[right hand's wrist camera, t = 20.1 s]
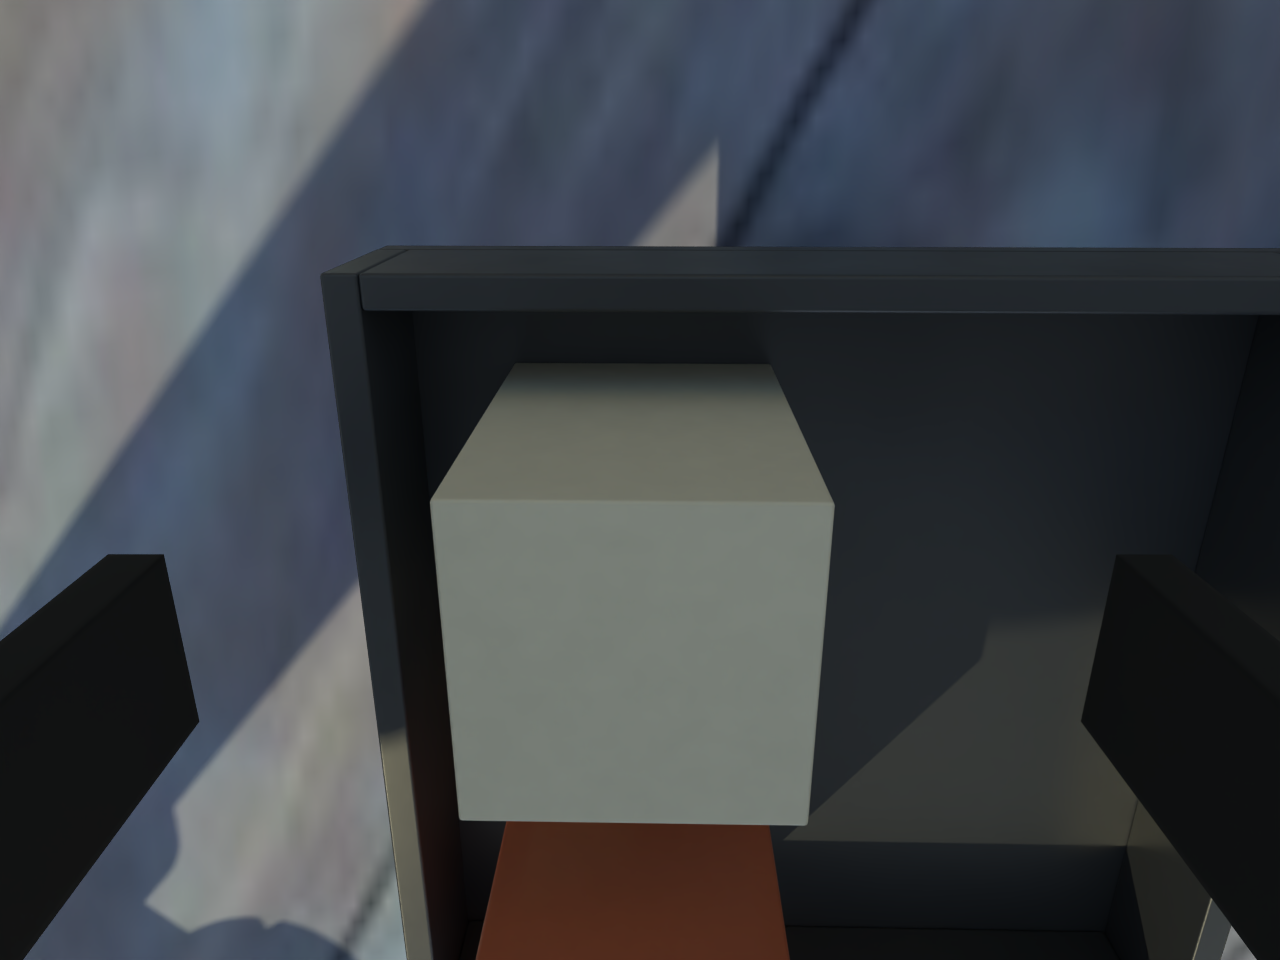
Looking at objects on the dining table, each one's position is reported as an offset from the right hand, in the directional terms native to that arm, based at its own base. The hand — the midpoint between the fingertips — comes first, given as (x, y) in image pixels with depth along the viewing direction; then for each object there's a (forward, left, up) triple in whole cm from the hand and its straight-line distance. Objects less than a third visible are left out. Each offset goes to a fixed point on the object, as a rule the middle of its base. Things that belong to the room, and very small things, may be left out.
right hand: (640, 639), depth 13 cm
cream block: (0, 0, -6) cm, 6 cm away
